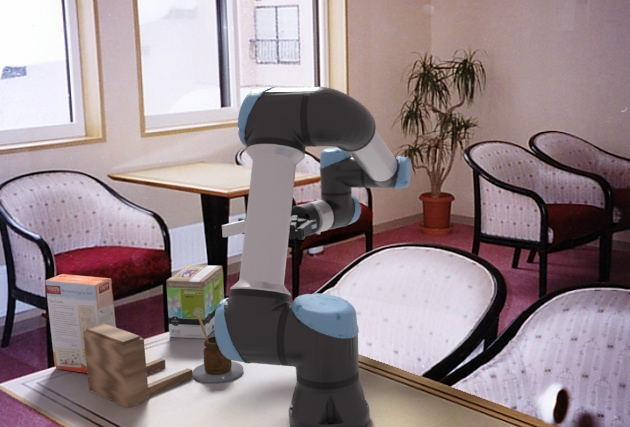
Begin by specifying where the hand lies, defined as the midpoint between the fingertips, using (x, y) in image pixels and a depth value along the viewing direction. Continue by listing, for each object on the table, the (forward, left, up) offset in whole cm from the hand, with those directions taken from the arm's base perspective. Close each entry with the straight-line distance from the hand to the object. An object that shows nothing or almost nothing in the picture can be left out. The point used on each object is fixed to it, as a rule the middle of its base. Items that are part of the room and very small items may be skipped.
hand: (243, 235), depth 178 cm
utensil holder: (0, +10, -28) cm, 30 cm away
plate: (0, +10, -29) cm, 30 cm away
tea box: (+26, -6, -29) cm, 39 cm away
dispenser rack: (+8, +24, -29) cm, 38 cm away
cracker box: (+26, +26, -29) cm, 47 cm away
